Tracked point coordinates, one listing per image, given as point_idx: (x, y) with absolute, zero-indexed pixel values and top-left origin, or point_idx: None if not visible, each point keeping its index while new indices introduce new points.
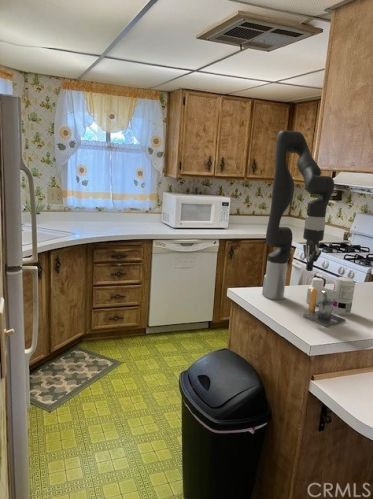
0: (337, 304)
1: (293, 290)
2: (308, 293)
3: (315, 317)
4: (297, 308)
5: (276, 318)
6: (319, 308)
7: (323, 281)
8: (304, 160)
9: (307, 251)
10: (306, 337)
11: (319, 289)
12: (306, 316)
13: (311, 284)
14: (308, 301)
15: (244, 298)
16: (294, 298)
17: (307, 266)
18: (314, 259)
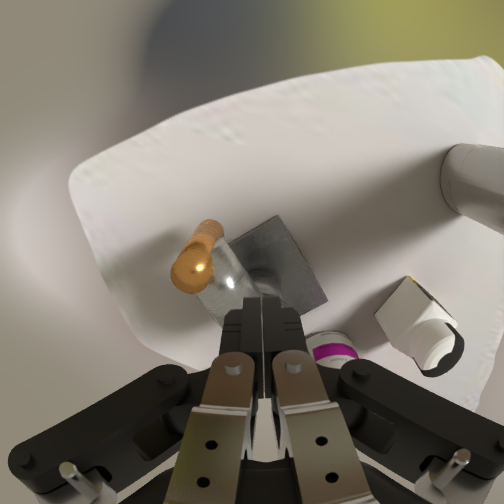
0: (312, 356)
1: (494, 269)
2: (420, 294)
3: (252, 254)
4: (362, 224)
5: (253, 104)
6: (261, 282)
7: (420, 367)
8: None
9: (291, 461)
10: (102, 173)
11: (411, 337)
12: (264, 224)
13: (443, 321)
14: (405, 283)
15: (440, 62)
16: (445, 248)
17: (245, 317)
18: (159, 418)
